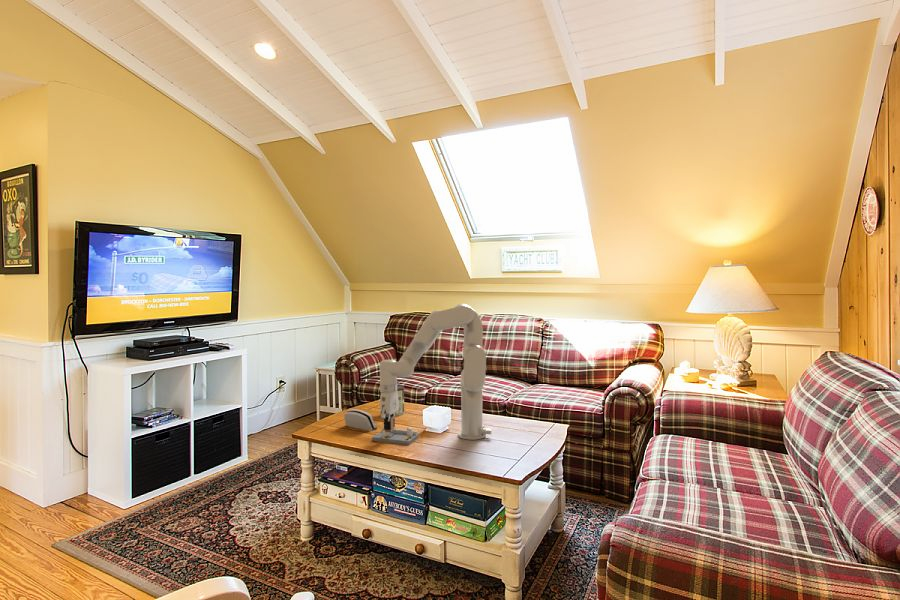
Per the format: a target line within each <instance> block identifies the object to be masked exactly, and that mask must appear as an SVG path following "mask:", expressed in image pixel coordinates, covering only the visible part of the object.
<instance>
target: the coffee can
mask: <svg viewBox="0 0 900 600" xmlns="http://www.w3.org/2000/svg"><path fill="white" fill-rule="evenodd" d="M397 392H398V401H399V410H398V411H397V412H395V417H398V416H403V415H404V414H405V386H404V385H400V384H397ZM385 414H387V413H385Z"/></svg>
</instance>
